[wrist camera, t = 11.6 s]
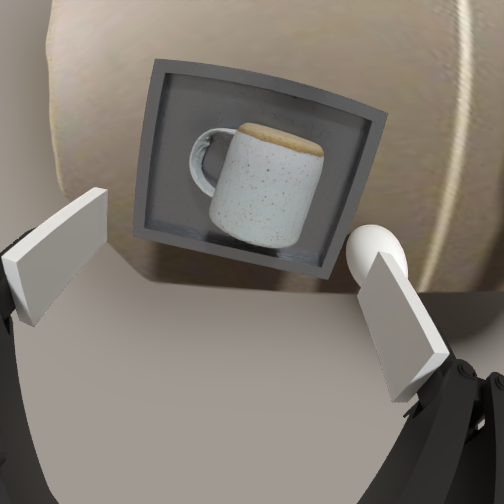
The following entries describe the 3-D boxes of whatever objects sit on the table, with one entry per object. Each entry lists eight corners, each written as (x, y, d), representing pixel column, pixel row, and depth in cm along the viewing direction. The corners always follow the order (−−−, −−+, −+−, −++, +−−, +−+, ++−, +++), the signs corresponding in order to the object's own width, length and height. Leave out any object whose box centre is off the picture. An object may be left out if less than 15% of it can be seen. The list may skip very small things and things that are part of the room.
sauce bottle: (335, 217, 43) (371, 290, 27) (384, 209, 42) (439, 274, 26) (340, 262, 47) (369, 344, 31) (386, 253, 45) (430, 329, 30)
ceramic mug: (322, 140, 25) (340, 156, 18) (293, 221, 29) (300, 263, 22) (204, 108, 24) (179, 111, 17) (186, 192, 28) (158, 224, 21)
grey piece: (347, 107, 35) (391, 114, 22) (312, 221, 44) (330, 280, 30) (193, 71, 34) (151, 58, 20) (171, 189, 42) (130, 235, 29)
